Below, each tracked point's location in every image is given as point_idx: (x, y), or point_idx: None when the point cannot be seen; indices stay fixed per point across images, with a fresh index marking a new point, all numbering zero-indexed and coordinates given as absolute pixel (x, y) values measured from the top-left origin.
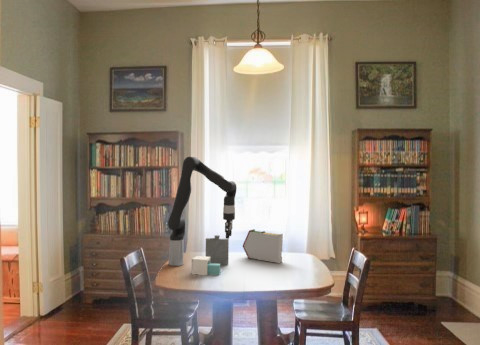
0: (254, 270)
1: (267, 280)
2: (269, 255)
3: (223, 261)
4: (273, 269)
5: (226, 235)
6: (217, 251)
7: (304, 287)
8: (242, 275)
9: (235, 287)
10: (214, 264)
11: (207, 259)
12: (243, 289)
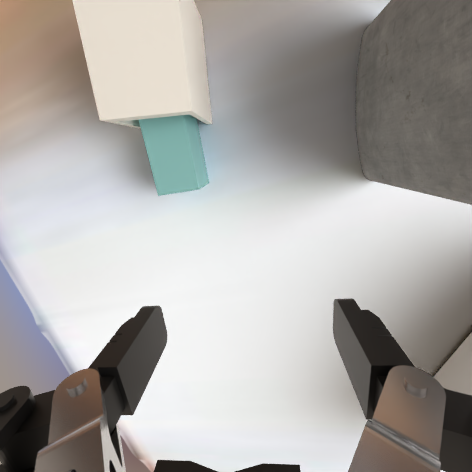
0: (285, 319)
1: (172, 370)
2: (466, 390)
3: (368, 156)
4: (316, 380)
5: (110, 345)
6: (401, 101)
7: (148, 452)
8: (200, 286)
9: (57, 288)
10: (167, 160)
11: (110, 117)
12: (53, 314)
